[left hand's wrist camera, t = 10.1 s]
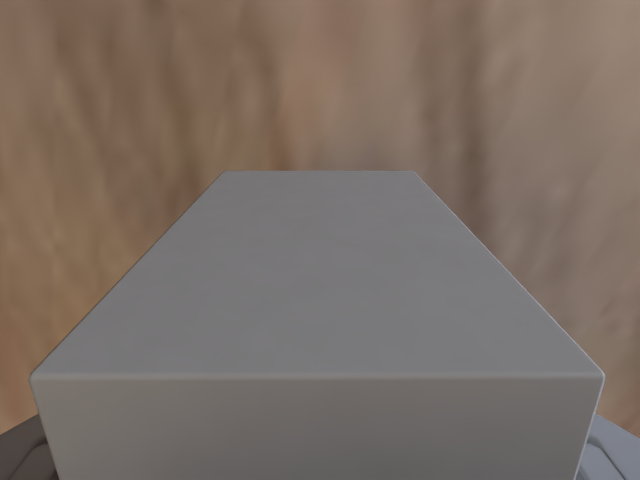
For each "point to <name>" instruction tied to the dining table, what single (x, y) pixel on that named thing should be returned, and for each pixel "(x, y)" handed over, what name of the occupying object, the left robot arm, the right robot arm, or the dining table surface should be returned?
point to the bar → (317, 347)
